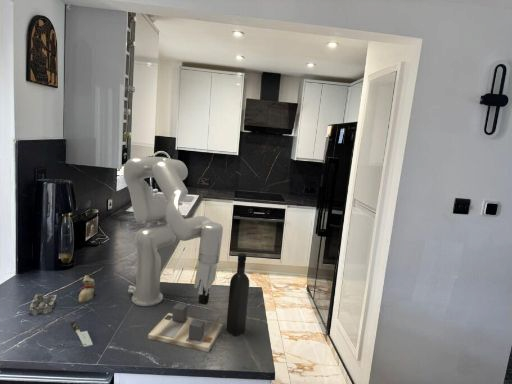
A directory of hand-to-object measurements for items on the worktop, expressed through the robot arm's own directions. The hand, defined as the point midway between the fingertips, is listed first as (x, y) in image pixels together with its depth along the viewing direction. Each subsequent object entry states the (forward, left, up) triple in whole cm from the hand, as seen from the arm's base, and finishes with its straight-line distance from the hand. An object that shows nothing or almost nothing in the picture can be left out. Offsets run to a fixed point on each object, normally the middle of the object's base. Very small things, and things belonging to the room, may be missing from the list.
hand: (203, 303), depth 123 cm
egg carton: (-61, -9, -10) cm, 62 cm away
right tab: (+1, -9, -8) cm, 12 cm away
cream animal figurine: (-52, +4, -10) cm, 53 cm away
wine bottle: (+12, +2, -10) cm, 16 cm away
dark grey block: (-9, 0, -8) cm, 12 cm away
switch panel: (-4, -5, -10) cm, 12 cm away
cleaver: (-36, -17, -11) cm, 42 cm away
